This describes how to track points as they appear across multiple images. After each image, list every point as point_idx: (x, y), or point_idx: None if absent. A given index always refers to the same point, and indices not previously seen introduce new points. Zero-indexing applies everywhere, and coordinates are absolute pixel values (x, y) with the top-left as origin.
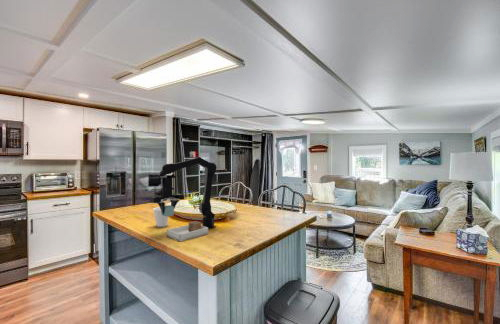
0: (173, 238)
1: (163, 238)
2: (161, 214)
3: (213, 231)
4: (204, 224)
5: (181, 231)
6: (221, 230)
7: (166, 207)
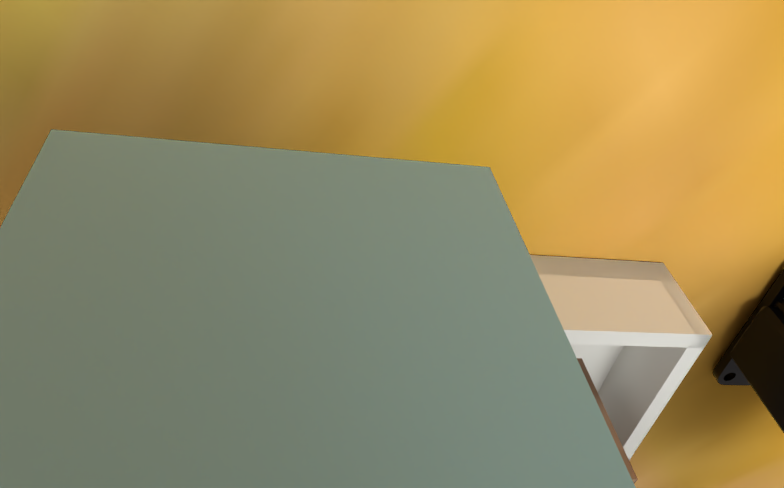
0: None
1: None
2: (44, 161)
3: (651, 452)
4: (757, 389)
5: None
6: (716, 473)
7: None
